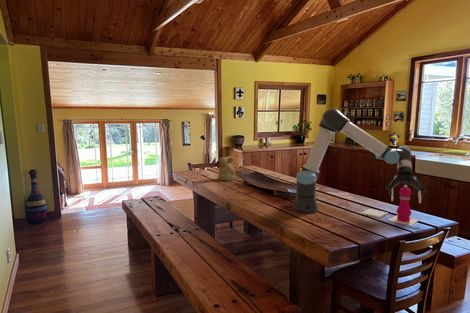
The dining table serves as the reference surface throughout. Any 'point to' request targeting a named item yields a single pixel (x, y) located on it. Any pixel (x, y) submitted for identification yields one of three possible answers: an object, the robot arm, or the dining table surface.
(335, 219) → the dining table surface
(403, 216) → the pepper mill
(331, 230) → the dining table surface
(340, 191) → the dining table surface
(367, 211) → the pad
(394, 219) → the tile
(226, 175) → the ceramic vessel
